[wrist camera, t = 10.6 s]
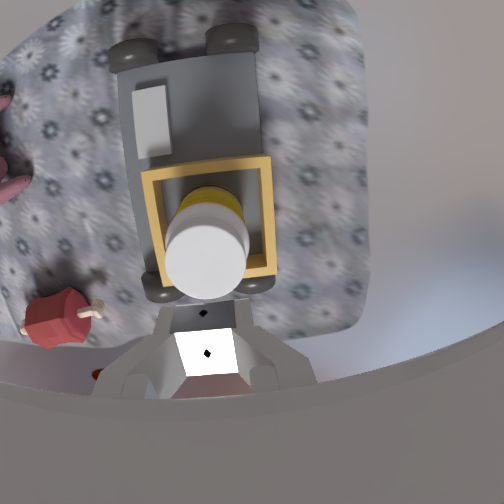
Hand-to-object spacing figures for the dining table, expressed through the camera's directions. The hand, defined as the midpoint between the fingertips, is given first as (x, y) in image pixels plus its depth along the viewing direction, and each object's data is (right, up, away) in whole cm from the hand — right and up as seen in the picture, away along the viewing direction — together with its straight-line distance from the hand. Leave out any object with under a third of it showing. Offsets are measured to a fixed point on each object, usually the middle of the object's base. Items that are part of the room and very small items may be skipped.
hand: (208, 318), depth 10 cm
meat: (-17, -3, +15) cm, 23 cm away
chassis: (-3, +9, +11) cm, 15 cm away
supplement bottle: (-2, +5, +12) cm, 13 cm away
